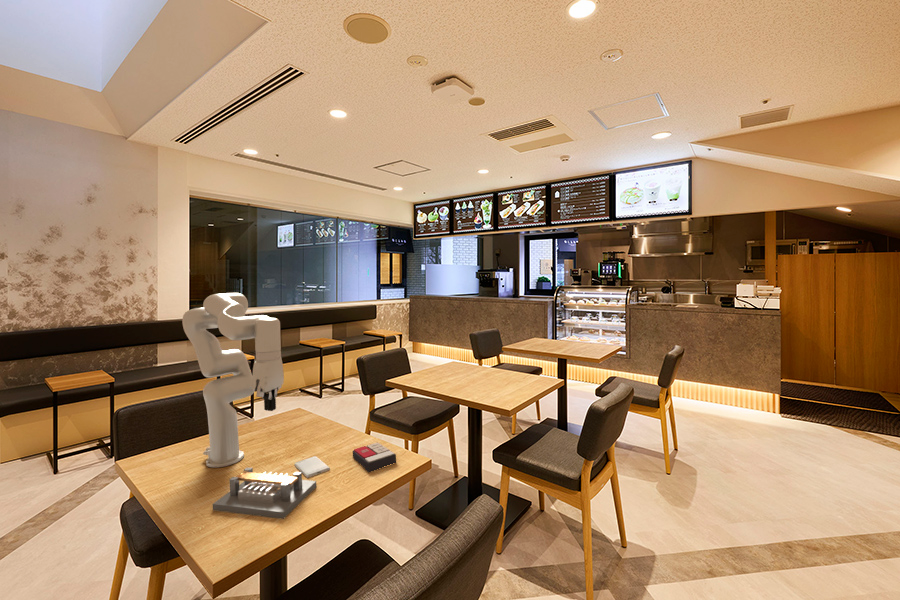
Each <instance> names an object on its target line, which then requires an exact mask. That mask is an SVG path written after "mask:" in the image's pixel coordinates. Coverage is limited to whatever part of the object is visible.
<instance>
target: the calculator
mask: <svg viewBox="0 0 900 600" xmlns="http://www.w3.org/2000/svg"><path fill="white" fill-rule="evenodd" d="M352 459H354V461H356V462H357V464H359V465H360V464H361V465H360V466H362V468H363V469H364V468H365V469H366V470H365V469H364V470H365V471H367V473H372V472H371V471H373V472H375V471H374V470H376V471H378V470H380V469H379V468H381V469H383V468H382V467H384V466H387V465H390V464H393V463H396V464H397V454H396V453H395V452H393V451H392V450H390V449H389V448H388V447H386V446H384V445H383V444H381V443H380V442H374V443H371V444H368V445H365V446H360V447H358V448H355V449H353V450H352ZM393 465H394V464H393ZM390 466H391V465H390ZM387 467H388V466H387ZM384 468H385V467H384ZM377 469H378V470H377Z"/></svg>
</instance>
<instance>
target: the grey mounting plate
mask: <svg viewBox="0 0 900 600" xmlns="http://www.w3.org/2000/svg"><path fill="white" fill-rule="evenodd" d="M245 486H246V485H245V484H244V481H243V482H241V483H239V490H241V489H242V488H243V487H245ZM317 487H318V485H317V481H316V480H311V479H309V480H308V479H302V489H301V490H300V491H294V487H293V486H292V487H291V488H290V497H291V499H290V500H289V501H288V502H282V501H281V497H279V498H278V499H277V500H276V501H275V502H274V503H268V502H259V501H250V500H241V499H238V495H237V496H230V491H229V492H227V493H225V494H224V495H223V496H221V497H220V498H219V499H217V500H216V501H214V502H213V503H212V511H214V512H224V513H230V514H240V515H246V516H247V515H248V516H255V517H256V516H257V517H263V518H273V519H281V520H284V519H285V518H286V517H288V515H289V514H290V513H291V512H293V510H294V509H295V508H297V507H298V506H299V504H301V503H302V502H303V501H304V500H305V499H306V498H307V497H308V496H309V495H310V494H311V493H312V492H313V491H314V490H315V489H316V488H317Z"/></svg>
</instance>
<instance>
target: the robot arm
mask: <svg viewBox="0 0 900 600" xmlns="http://www.w3.org/2000/svg"><path fill="white" fill-rule="evenodd" d="M248 302H249V301H248V299H247V297H246V296H245V295H244V294H242V293H239V292H226V293H214V294H210V295H209V296H207V297H206V298H205V299H204V300H203V304H202V306H203V307H194V308H192V309H189V310H187V311H185V312H184V313H183V316H182V327H183V331H184V333H185V335H186V337H187V338H188V340H189V341H190V343H191V344H192V346H193V350H194V351H195V355H196V359H197V362H198V365H199V369H200V372H201V374H202V375H203V376H204V377H205V378H216V379H214V380H210V381H209V382H207V383H206V384H205V385H204V386H203V390H202V395H203V399H204V402H205V407H206V412H207V414H206V415H207V424H208V439H209V446H207V447H206V448H205V450H204V451H203V455H204V456H208V457H207V459H206V460H205V464H206V466H207V467H208V468H222V467H223V468H225V467H227V466H231V465H233V464H236V463H238V462H240V461H241V460H242V459H243V458H244V457H245V452H244V451H242V450H240V443H239V442H240V441H239V426H238V425H239V424H238V412H237V410H236V409H235V408H234V407H233V406H232V405H231V404H230V403H233V402H234V401H238V400H241V399H246V398H248V397H250V396H252V395H253V394H254V392H256V396H255V397H258V398H262V399H263V406H264V410H265V411H266V412H267V411H269V412H273V411H275V410H276V409H277V401H276V400H277V399H276V398H277V397H278V391H279V390H280V389H282V386H283V385H284V381H285V379H284V378H285V376H284V373H285V372H284V364H283V360H282V352H281V351H282V349H281V348H282V347H281V341H282V340H281V321H280V320H279V319H278V318H276V317H270V316H268V315H264V314H261V315H260V314H259V315H249V316H248V315H247V316H246V313H247V311H248V307H249V303H248ZM217 328H218V330H219V333H220V334H221V335H223V336H224V337H226V338H228V339H229V340H230V341H231V340H232V341H243V340H251V339H254V343H255V344H254V345H255V361H254V363H253V367H252V371H251V368H250V365H249V362H248V359H247V356H246V354H245V353H244V352H243V351H242V350H240V349H238V348H232V349H228V350H227V349H226V350H223V349H222V347H221V343H220V340H219V339H218V338H217V337H216V336H215V334H213V333H211V332H209V330H208V329H217ZM230 374H232V375H231V376H226V375H230ZM221 376H225V377H221ZM217 377H221V378H217Z"/></svg>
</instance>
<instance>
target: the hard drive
mask: <svg viewBox="0 0 900 600" xmlns="http://www.w3.org/2000/svg"><path fill="white" fill-rule="evenodd" d="M294 467H295V468H297V470H299V471H300V472H302V474H303V476H304V477H306V478H307V479H308V478H311V477H314V476H316V475H317V476H318V475H320V474H322V473H326V472H328V471H331V469H330V466H328V464H326V463H325V462H324V461H323V460H321V459H320V458H319V457H317V456H316V455H313V456H311V457H308V458H305V459H302V460H299V461H296V462H294Z"/></svg>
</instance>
